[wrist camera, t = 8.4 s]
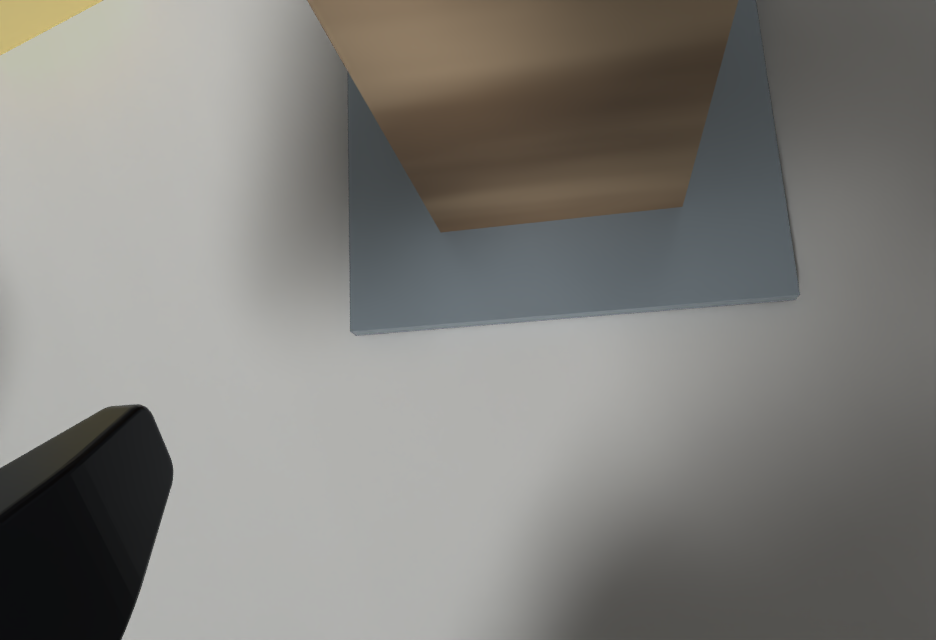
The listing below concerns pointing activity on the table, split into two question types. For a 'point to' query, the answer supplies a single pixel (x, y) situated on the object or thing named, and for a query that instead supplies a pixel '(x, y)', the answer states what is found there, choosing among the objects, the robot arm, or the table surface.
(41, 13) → the pale yellow cube
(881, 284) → the table surface
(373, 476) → the table surface
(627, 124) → the walnut block
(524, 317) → the coaster
